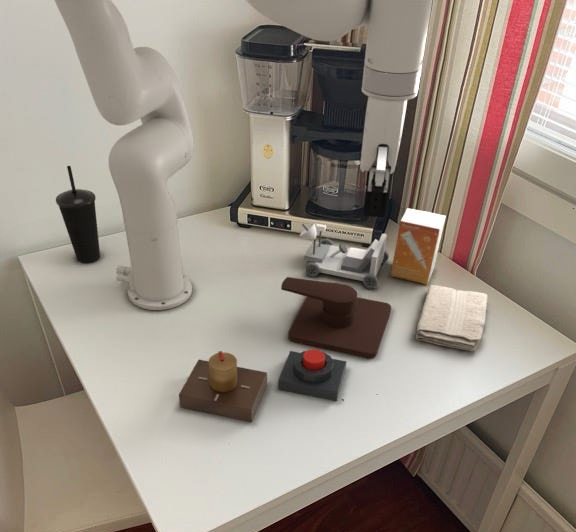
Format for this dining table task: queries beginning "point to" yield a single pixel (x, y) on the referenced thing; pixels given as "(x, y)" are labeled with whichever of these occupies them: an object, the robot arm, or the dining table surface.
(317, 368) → the power button
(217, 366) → the dimmer knob
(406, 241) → the small box
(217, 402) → the dimmer panel
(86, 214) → the drinking cup
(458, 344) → the washcloth
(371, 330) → the lever handle
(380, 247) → the toy car
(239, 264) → the dining table surface
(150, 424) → the dining table surface
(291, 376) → the switch block
